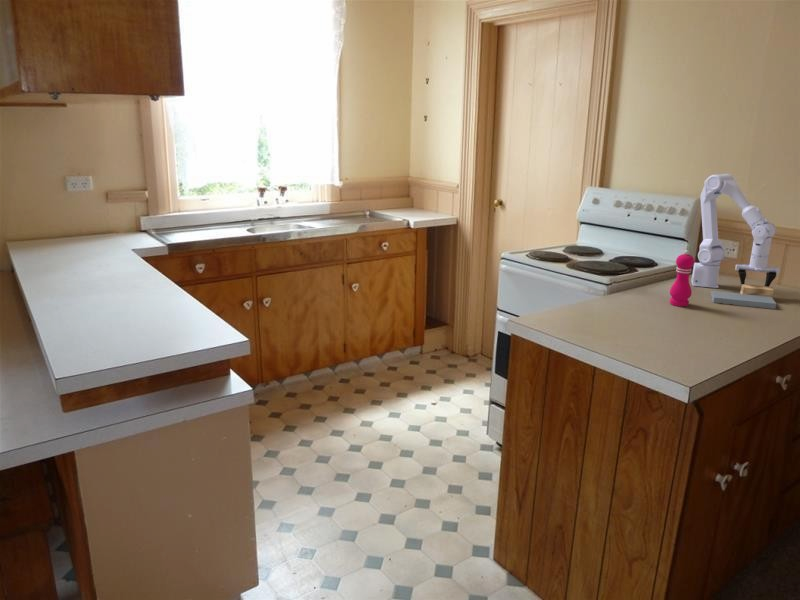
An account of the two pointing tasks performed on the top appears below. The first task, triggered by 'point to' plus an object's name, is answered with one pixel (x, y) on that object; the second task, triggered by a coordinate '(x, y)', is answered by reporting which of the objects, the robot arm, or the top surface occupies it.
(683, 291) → the pepper mill
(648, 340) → the top surface
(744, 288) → the oak bar
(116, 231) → the top surface
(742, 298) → the slate board
